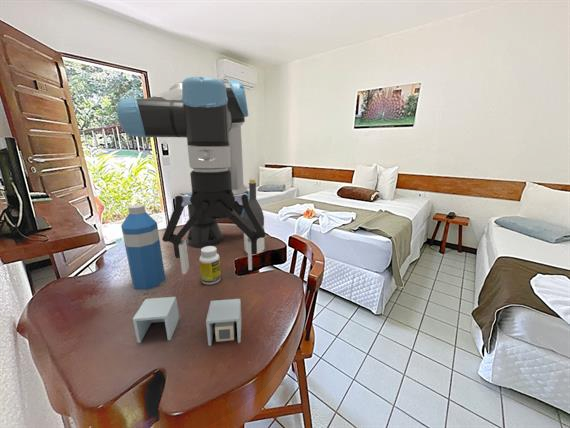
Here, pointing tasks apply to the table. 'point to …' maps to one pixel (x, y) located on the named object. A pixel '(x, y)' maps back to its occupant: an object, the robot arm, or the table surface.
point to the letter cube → (225, 331)
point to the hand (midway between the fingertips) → (218, 268)
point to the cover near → (156, 316)
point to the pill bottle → (210, 265)
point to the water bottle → (143, 248)
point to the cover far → (223, 316)
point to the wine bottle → (258, 213)
